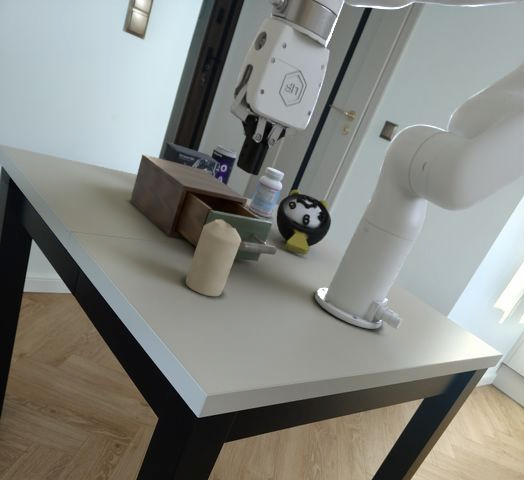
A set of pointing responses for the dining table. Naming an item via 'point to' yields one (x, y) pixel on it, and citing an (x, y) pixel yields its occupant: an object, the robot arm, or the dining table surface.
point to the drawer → (244, 221)
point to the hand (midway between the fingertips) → (246, 170)
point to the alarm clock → (302, 221)
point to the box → (190, 158)
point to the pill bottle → (267, 193)
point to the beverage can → (224, 162)
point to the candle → (213, 258)
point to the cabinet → (173, 190)
